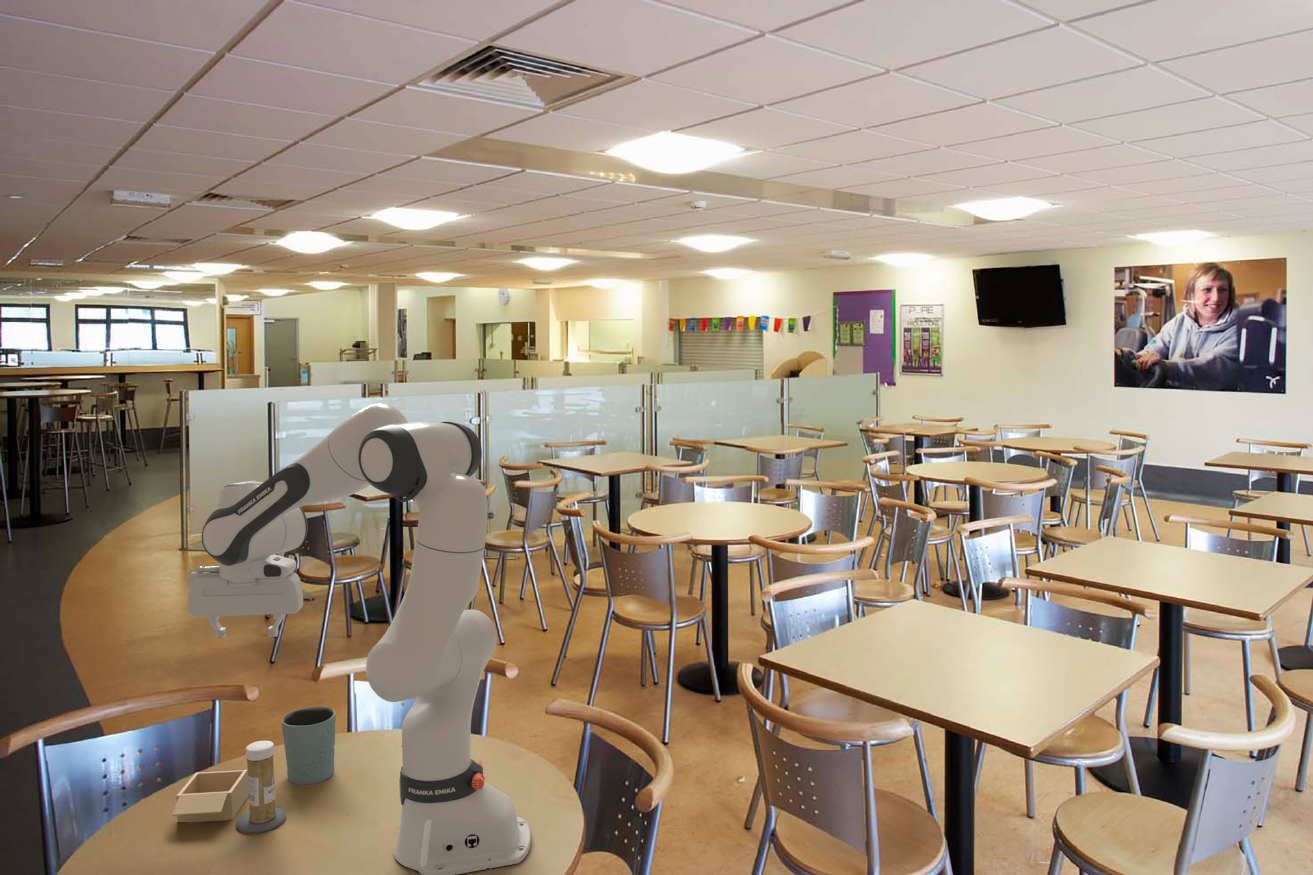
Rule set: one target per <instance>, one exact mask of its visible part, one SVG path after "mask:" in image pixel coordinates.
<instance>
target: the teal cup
mask: <svg viewBox="0 0 1313 875" xmlns="http://www.w3.org/2000/svg"><path fill="white" fill-rule="evenodd" d="M336 715H337V713H336V711H335V709H334V708H330V707H326V706H313V707H311V706H310V707H304V708H300V709H296V710H293V711H290V712H288V713H286V714H285V715H283V716H282V718H281V720H280V723H281V731H282V738H283V743H284V744H283V745H284V751H285V753H284V754H285V759H286V760H285V763H286V773H287V774H286V775H287V780H288V781H289V782H290V783H292V784H294V785H307V786H308V785H314V784H317V783H321V782H323V781H326V780H327V779H329V778H330V777H332V776H333V774H334V771H335V743H336V742H335V740H336V720H337V716H336Z"/></svg>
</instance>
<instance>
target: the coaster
mask: <svg viewBox="0 0 1313 875" xmlns="http://www.w3.org/2000/svg"><path fill="white" fill-rule="evenodd" d="M275 810H276V816H275V817H274V818H273V819H272V820H270V821H268V822H265V823H259V824H256V823H252V822H250V821H249V816H250V813H249V812H250V811H249V812H246V813H243V815H241V816H240V817H239V818H238V819H237V821H236V828H237V830H238V831H239V832H240V833H244V834H259V833H260V834H261V833H265V832H269V831H272V830H274V829H277V828H278V827H280V826H281V825H283V824H284V822H286V820H287V813H286V811H285V810H284V809H283V808H281V807H276V806H275Z"/></svg>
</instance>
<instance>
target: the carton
mask: <svg viewBox="0 0 1313 875" xmlns="http://www.w3.org/2000/svg"><path fill="white" fill-rule="evenodd" d="M247 774H248V768H238V769H237V768H235V769H233V768H232V769H218V770H202V771H198V772H195V773H194V774H193V775H192V776H191V777H190V779H189V780H188V781H187V782H186V784H185V785H184V786H183V787H182V789H181V790H179V792H178V793H177V795H176V796H175V797H176V803H175V806H174V809H173V812H172V814H171V816H173V817H174V816H176V817H177V818H176V820H177V822H188V823H202V822H217V821H232V820H233V819H234V818H235V816H236V815H237V813H238V812H239V810H240V809H241V807H242V806H243V804H245V801H246V800H247V798H248V778H247Z"/></svg>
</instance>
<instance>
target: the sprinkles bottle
mask: <svg viewBox="0 0 1313 875" xmlns="http://www.w3.org/2000/svg"><path fill="white" fill-rule="evenodd" d="M274 755H275V745H274V742H273V741H271V740H258V741H254V742H252V743H250V744H248V745H247V746H246V747H245V758H246V761H247V762H246V763H247V769H248V774H247V778H248V797H247V798H248V805H249V806H248V807H249V808H248V809H249V813H250V816H249V821H250V822H252V823H256V824H259V823H265V822H268V821H270V820H272V819H273V818H274V817H275V816H276V810H275V807H276V788H275V787H276V785H275V784H276V783H275V769H274V766H275V765H274Z"/></svg>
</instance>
